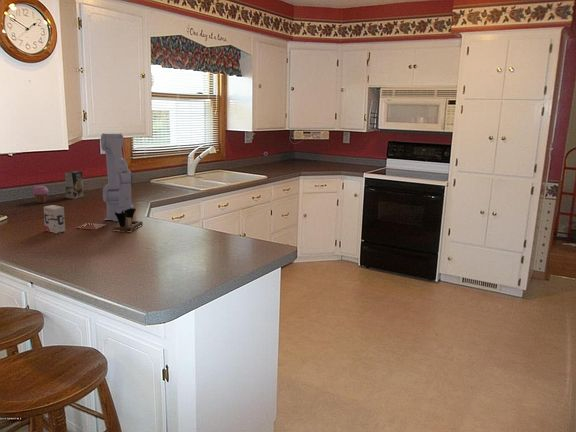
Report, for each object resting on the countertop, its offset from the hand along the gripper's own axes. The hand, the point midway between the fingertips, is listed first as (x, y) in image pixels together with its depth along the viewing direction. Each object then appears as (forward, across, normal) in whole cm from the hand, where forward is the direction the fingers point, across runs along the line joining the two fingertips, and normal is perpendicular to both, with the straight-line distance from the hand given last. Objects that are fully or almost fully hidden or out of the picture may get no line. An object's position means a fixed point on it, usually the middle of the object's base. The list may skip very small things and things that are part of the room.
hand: (125, 224), depth 229 cm
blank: (+2, 0, 0) cm, 2 cm away
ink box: (+2, -15, +27) cm, 31 cm away
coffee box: (+2, +65, +63) cm, 91 cm away
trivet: (+2, -3, +16) cm, 16 cm away
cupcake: (+2, +44, +72) cm, 84 cm away
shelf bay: (+2, 0, 0) cm, 2 cm away
